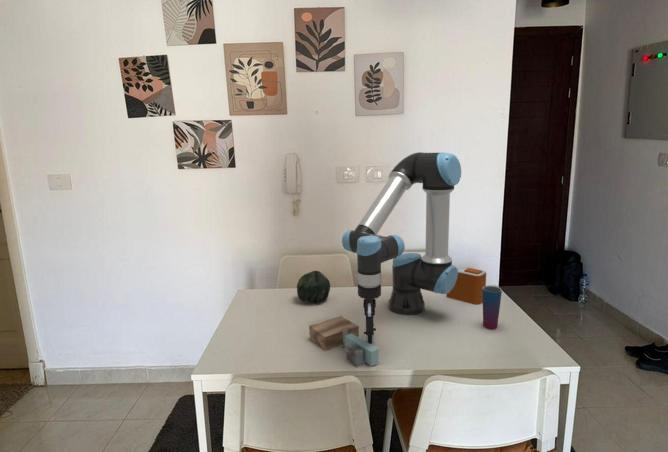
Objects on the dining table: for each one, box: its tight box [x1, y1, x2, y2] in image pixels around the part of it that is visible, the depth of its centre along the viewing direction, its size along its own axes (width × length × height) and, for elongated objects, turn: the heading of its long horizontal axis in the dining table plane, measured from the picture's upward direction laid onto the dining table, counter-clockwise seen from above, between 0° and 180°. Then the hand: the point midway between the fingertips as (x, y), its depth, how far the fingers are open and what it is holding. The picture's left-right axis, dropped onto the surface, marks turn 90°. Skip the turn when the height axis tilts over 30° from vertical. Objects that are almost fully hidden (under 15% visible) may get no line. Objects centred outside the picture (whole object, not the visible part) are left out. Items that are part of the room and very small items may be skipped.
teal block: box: [344, 333, 380, 367], centre depth 143 cm, size 14×3×5 cm, turn 36°
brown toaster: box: [446, 267, 487, 305], centre depth 189 cm, size 15×8×14 cm, turn 47°
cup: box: [482, 285, 503, 330], centre depth 161 cm, size 7×7×15 cm
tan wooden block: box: [308, 315, 365, 368], centre depth 150 cm, size 26×14×7 cm, turn 33°
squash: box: [296, 270, 331, 304], centre depth 192 cm, size 14×15×15 cm
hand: (370, 350), depth 145 cm, fingers closed
